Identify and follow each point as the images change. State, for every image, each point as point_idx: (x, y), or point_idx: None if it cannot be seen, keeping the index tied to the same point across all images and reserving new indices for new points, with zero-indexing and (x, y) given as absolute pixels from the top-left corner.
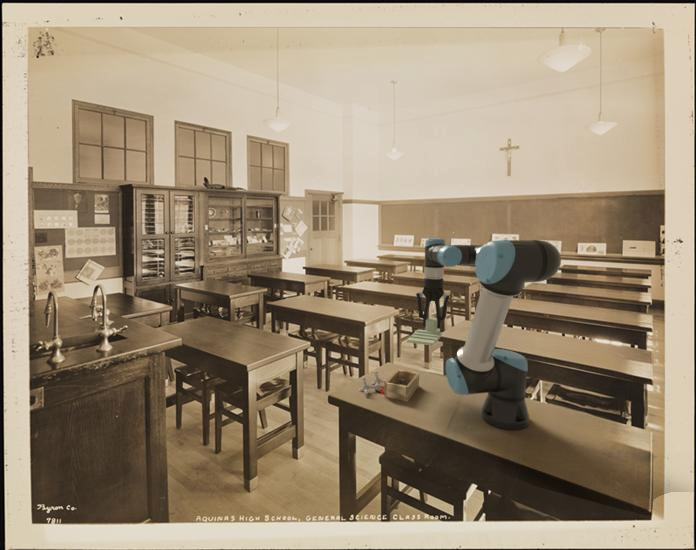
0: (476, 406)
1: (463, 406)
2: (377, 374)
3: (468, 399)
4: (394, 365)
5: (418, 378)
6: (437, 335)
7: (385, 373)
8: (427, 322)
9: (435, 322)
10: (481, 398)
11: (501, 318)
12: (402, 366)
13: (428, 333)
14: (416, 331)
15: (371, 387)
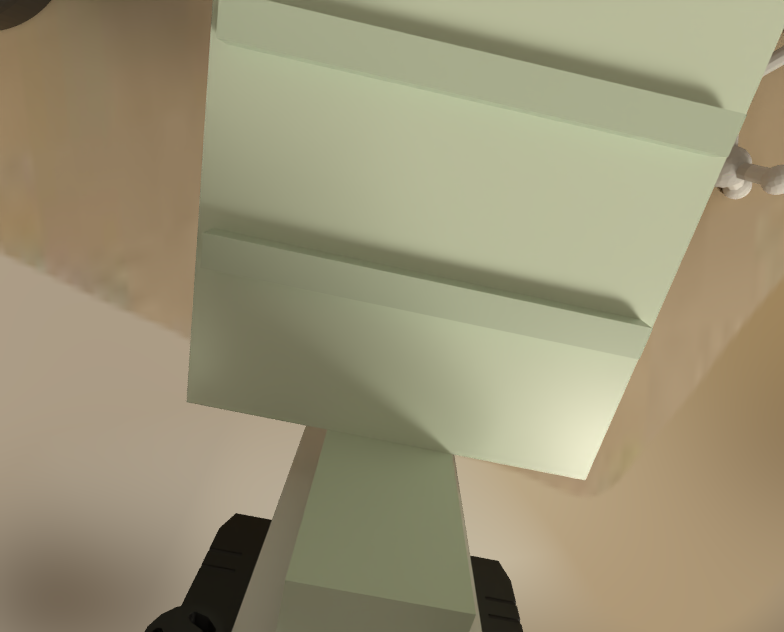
0: (119, 26)
1: (189, 4)
2: (758, 176)
3: (171, 118)
4: (583, 483)
5: None
6: (239, 170)
7: (640, 371)
8: (449, 565)
9: (276, 603)
10: (105, 151)
11: None
12: (540, 479)
13: (414, 270)
14: (640, 321)
15: (778, 49)
